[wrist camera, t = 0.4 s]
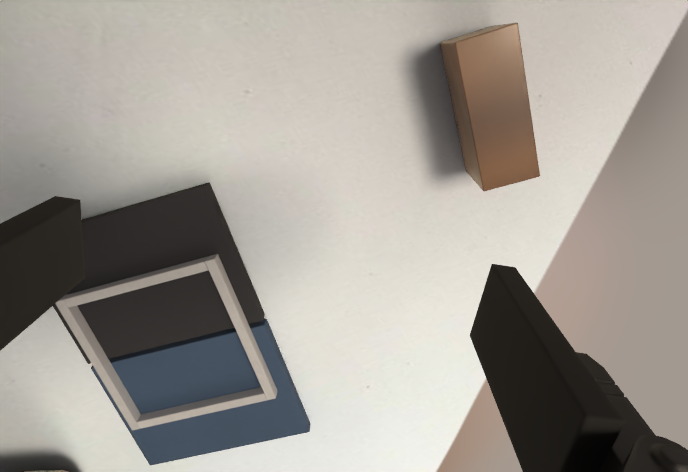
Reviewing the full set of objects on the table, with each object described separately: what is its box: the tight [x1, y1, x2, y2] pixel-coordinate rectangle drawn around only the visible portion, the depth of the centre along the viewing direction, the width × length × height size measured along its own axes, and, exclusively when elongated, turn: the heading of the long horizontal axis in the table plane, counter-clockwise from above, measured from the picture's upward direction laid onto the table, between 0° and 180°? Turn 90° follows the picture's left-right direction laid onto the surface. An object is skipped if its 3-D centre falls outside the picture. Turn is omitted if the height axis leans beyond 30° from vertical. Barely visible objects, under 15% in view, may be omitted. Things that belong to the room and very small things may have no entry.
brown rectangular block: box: [440, 23, 540, 191], centre depth 30 cm, size 9×4×5 cm, turn 17°
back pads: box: [53, 183, 310, 465], centre depth 39 cm, size 24×16×2 cm, turn 17°
